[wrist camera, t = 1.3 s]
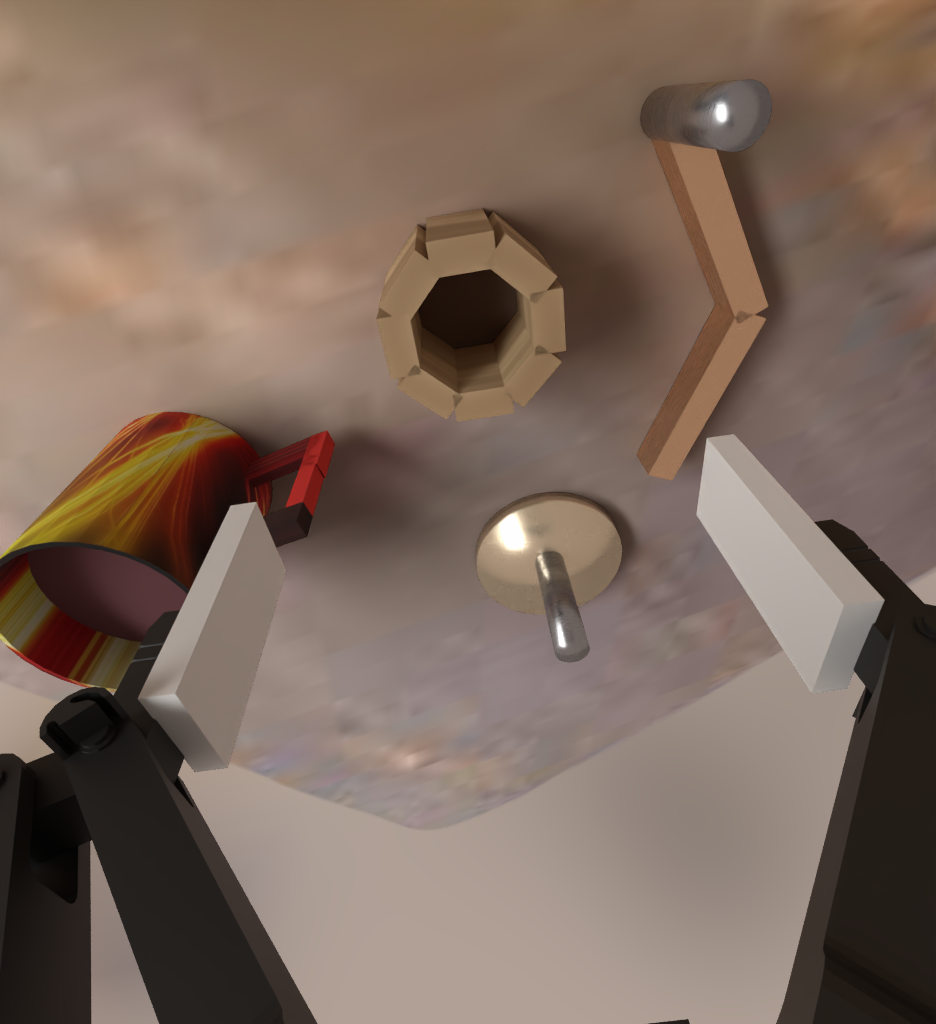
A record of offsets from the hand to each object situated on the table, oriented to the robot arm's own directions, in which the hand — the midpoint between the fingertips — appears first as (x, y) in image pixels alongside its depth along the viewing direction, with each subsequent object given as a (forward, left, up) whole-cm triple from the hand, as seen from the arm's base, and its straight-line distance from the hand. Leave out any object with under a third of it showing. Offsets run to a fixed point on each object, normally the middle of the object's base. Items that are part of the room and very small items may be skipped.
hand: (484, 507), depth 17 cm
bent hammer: (+1, +12, -17) cm, 21 cm away
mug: (+5, -16, -17) cm, 24 cm away
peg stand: (+17, +4, -17) cm, 24 cm away
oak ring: (-1, +1, -17) cm, 17 cm away
